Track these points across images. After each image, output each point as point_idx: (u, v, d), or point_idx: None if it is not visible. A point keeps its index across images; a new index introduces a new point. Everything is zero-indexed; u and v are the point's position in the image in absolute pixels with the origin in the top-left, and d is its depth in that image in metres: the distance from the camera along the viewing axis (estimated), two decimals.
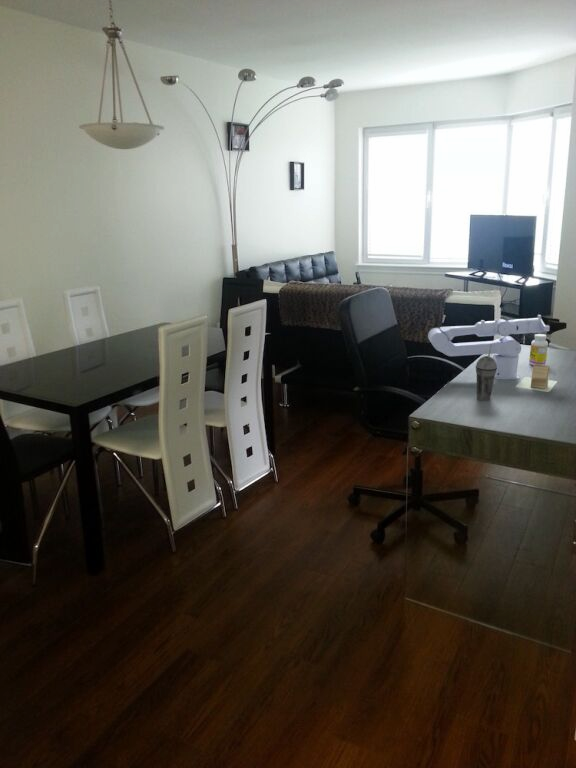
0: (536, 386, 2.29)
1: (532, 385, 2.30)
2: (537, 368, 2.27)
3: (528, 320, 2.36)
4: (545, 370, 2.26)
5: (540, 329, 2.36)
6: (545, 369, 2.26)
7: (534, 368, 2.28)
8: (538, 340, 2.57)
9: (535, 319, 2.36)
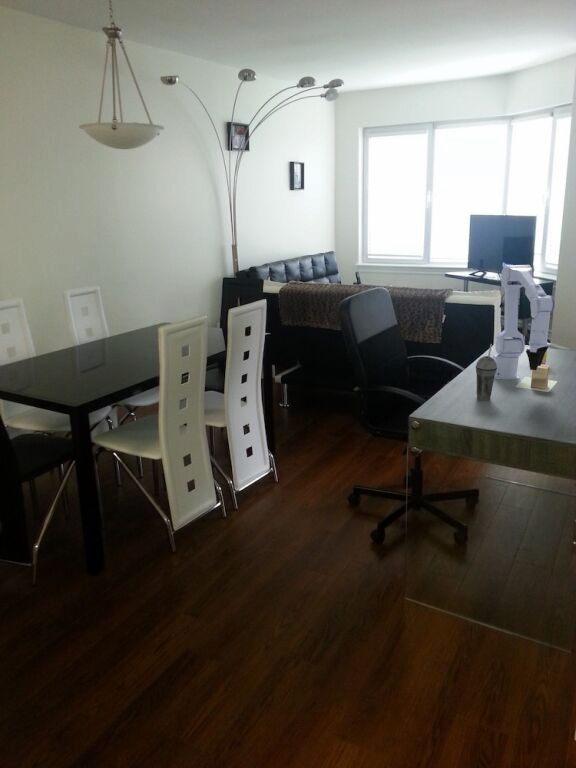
0: (536, 386, 2.29)
1: (532, 385, 2.30)
2: (537, 368, 2.27)
3: (545, 332, 2.13)
4: (545, 370, 2.26)
5: (533, 343, 2.15)
6: (545, 369, 2.26)
7: None
8: None
9: (545, 340, 2.14)
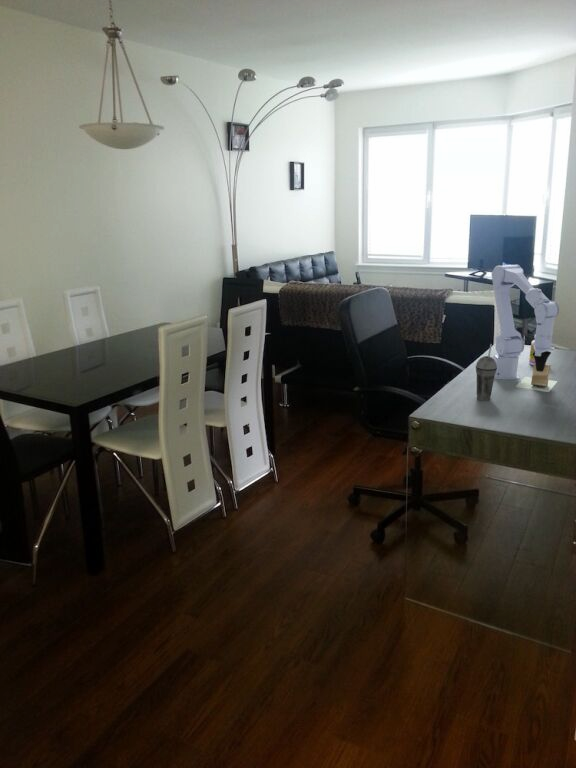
0: (536, 383, 2.29)
1: (532, 382, 2.30)
2: None
3: (550, 337, 2.21)
4: (546, 367, 2.27)
5: (537, 348, 2.23)
6: (546, 366, 2.27)
7: (535, 365, 2.29)
8: None
9: (549, 344, 2.22)
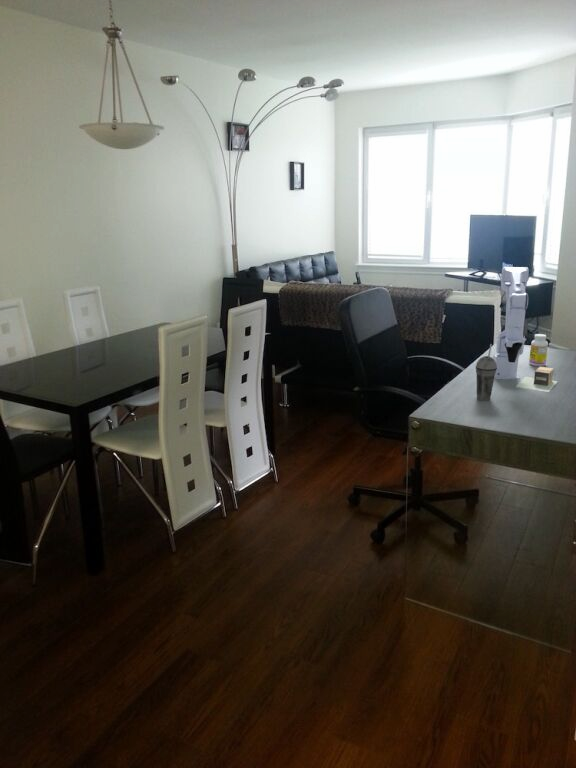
0: (541, 371, 2.32)
1: (537, 371, 2.33)
2: (544, 367, 2.38)
3: (521, 328, 2.22)
4: (551, 368, 2.36)
5: (509, 339, 2.24)
6: (551, 368, 2.37)
7: (541, 367, 2.38)
8: (538, 340, 2.57)
9: (521, 335, 2.23)
